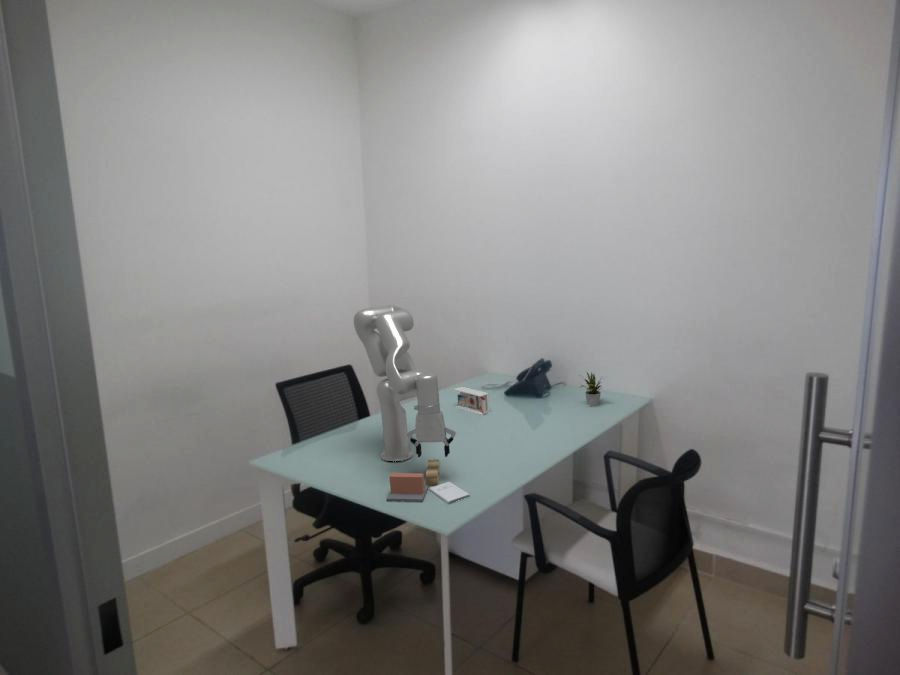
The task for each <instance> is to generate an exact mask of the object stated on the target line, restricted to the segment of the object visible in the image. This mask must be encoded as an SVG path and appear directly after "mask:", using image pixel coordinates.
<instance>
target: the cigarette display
mask: <svg viewBox="0 0 900 675" xmlns="http://www.w3.org/2000/svg"><path fill="white" fill-rule="evenodd" d="M453 391H456V392H460V393H458V394H457V405H455V406H456V407H457V406H458V408H457V409H459V406H461V407H464V408H465V407H466V408H467V409H468V408H470V410H471V412H470V413H473V412H474V413H473V414H476V413H478V414H477V415H479V414H483V415H487V414H488V413H490V396H489V393H488V392H485V391H481V390H477V389H473V388H468V387H464V386H460V387H457V388H456V387H455V388H453ZM461 407H460V408H461ZM464 408H463V409H464ZM466 408H465V409H466ZM465 409H464V410H463V411H466V410H467V409H466V410H465ZM460 410H462V408H461V409H460ZM470 410H469V409H468V411H467V412H469V411H470ZM487 412H488V413H487Z"/></svg>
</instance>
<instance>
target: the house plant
mask: <svg viewBox="0 0 900 675" xmlns="http://www.w3.org/2000/svg"><path fill="white" fill-rule="evenodd" d="M585 373H586V375H587V378H588V380H587V379H586V378H584V377H583V375H580V374H579V377H581V378H584V382H585V384H586V385H587V386H586V385H585V388H586V391H585V392H584V393H585V398H586V404H588V405H590V406H589V407H591V406H596V407H598V406H597V405H600V398H601V395H602V394H601V391H600V390H601V389H602V385H600V384H602V382H601V381H602V380H605V379H606V378H608V377H604V378H603V376H600V379H599V380H598V381H597V384H596V375H595V374H594V373H593V372H592V371H591V372H590V374H589V373H588V372H587V371H585ZM601 379H602V380H601ZM579 388H584V385H583V384H582V383H580V386H579ZM588 405H587V406H588Z"/></svg>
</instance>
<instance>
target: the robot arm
mask: <svg viewBox="0 0 900 675" xmlns="http://www.w3.org/2000/svg"><path fill="white" fill-rule="evenodd" d="M414 324H415V323H414V317H413V315H412V314H411V312H410V311H409V310H407V308H406V309H405V308H403V307H400V306H396V305H393V304H392V305H389V304H388V305H382V306H381V305H380V306H375V307H374V306H373V307H367V308H366V307H365V308H362V309H360V310H358V311H356V313H355V314H354V317H353V327H354V330H355V333H356V335H357V336H358V339H359V340H360V341H361V343H362V344H363V347H364V349H365V352H366V355H367V357H368V359H369V363H370V365H371V368H372V371H373V373H374V374H375V376H376V377H380V378H382V377H386V378H384V379H381V380H380V381H379V383H378V384H377V386H376V395H377V398H378V402H379V406H380V407H379V408H380V415H381V425H382V426H381V428H382V436H383V437H382V438H383V451H381V454H380V458H382V459H383V460H382V459H381V460H382V461H384V460H386V461H385V462H387V461H393V462H392V463H397V462H396V461H401V462H404V460H405V461H407V459H408V460H410V459H411V458H412V457H413V456H414V451H413V449H411V448H410V447H409V442H410V443H412V444H413V446H414V447H415V452H416V453H415V454H416V455H417V458H421V456H422V453H423V452H422V445H421V443H441V442H442V443H443V444H444V446H443V450H444V457H445V458H447V457H448V456H449V455H450V452H451V451H450V444H451V443H452V442H453V441H454V438H455V436H456V435H457V432H456V431H455V430H453V429H451V428H448V427H447V426H446V422H445V416H444V414H443V411H442V410H441V405H440V403H441V402H440V394H439V383H438V381H439V380H438V376H437V374H436V373H434V372H429V371H428V370H426V369H424V368H418V369H417V368H416V366H415V363H414V361H413V359H412V356H411V354H410V353H409V352H408V350H409V349H410V347H411V343H410V341H409V339H408V337H407V335H406V333H405V332H409V331H411V330H412V329H413V327H414ZM376 330H377V331H378V332H377V331H376ZM413 398H416V400H417V405H414V406H413V408H414V409H413V410H415V411H417V413H416V414H415V428H414V429H412V430H409V432H408V423H407V422H408V420H407V412H406V409H405V408H404V406H403V405H402V404H400V402H402V401H405V400H406V401H407V400H410V399H413ZM447 434H448V435H450V437H449V438H448V437H447ZM413 435H415V437H414V436H413ZM409 458H410V459H409ZM394 461H395V462H394Z"/></svg>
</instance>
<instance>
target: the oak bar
mask: <svg viewBox="0 0 900 675" xmlns="http://www.w3.org/2000/svg"><path fill="white" fill-rule="evenodd" d="M440 466H441V465H440V459H428V460H427V466H426V473H425V485H428V486H429V487H434V486H437V485H439V480H440V472H439V471H441V470H440V469H441V468H440Z"/></svg>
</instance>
